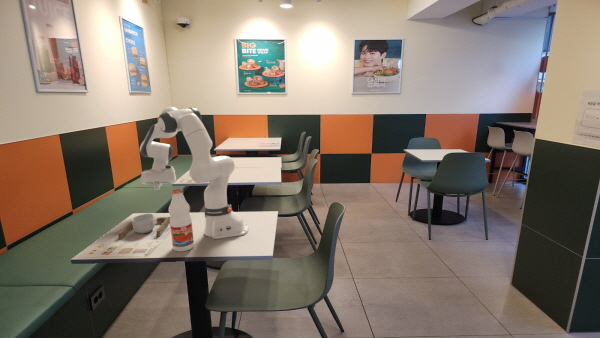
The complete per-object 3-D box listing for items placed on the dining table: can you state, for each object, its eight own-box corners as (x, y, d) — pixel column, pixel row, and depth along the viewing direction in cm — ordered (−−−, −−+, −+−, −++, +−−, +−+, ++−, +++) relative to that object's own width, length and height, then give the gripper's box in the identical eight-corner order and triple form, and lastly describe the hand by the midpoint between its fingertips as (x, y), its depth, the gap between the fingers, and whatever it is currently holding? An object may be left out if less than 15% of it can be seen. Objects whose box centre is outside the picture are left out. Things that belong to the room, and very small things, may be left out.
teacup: (147, 236, 169) (145, 221, 167) (128, 234, 171) (126, 220, 170) (163, 225, 182) (161, 211, 181) (145, 224, 185) (144, 210, 183)
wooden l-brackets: (170, 221, 188) (170, 216, 187) (160, 236, 168) (159, 230, 168) (134, 224, 186) (133, 219, 185) (119, 239, 166) (118, 233, 166)
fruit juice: (192, 241, 161) (186, 186, 155) (196, 249, 153) (189, 191, 147) (171, 245, 157) (164, 189, 151) (174, 253, 149) (167, 194, 143)
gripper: (140, 167, 201) (136, 187, 193) (175, 166, 203) (172, 185, 196) (143, 173, 206) (140, 192, 199) (177, 171, 208) (175, 191, 201)
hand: (156, 189), depth 197 cm, fingers closed
